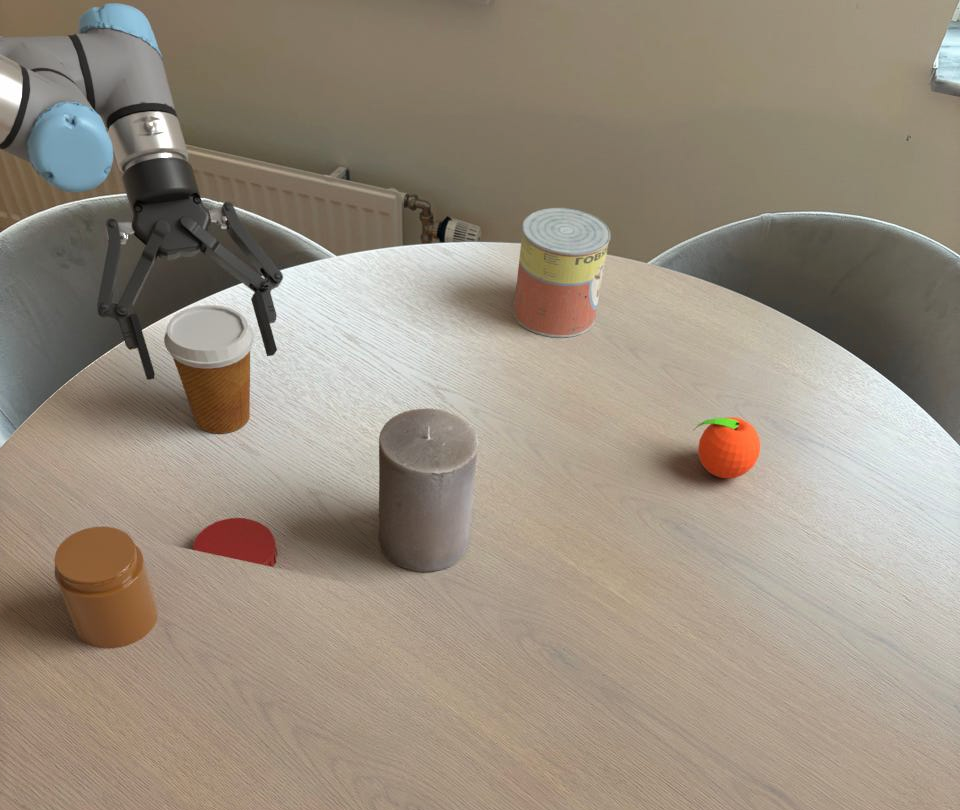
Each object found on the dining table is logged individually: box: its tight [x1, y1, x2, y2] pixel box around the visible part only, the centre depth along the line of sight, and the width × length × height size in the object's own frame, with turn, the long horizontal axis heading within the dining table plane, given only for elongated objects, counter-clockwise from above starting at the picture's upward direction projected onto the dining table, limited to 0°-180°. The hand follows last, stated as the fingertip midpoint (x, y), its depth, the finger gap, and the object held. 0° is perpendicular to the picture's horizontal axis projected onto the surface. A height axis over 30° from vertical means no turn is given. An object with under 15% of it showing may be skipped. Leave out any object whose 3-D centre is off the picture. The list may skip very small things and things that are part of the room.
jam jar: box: [53, 526, 159, 649], centre depth 90 cm, size 8×8×10 cm
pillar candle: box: [378, 408, 479, 573], centre depth 99 cm, size 10×10×15 cm
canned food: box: [512, 207, 611, 339], centre depth 129 cm, size 11×11×12 cm
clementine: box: [692, 416, 761, 479], centre depth 113 cm, size 8×7×7 cm
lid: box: [192, 517, 278, 568], centre depth 101 cm, size 8×8×2 cm
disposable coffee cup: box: [163, 304, 255, 434], centre depth 111 cm, size 10×10×12 cm
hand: (212, 365), depth 109 cm, fingers open, 13 cm apart
